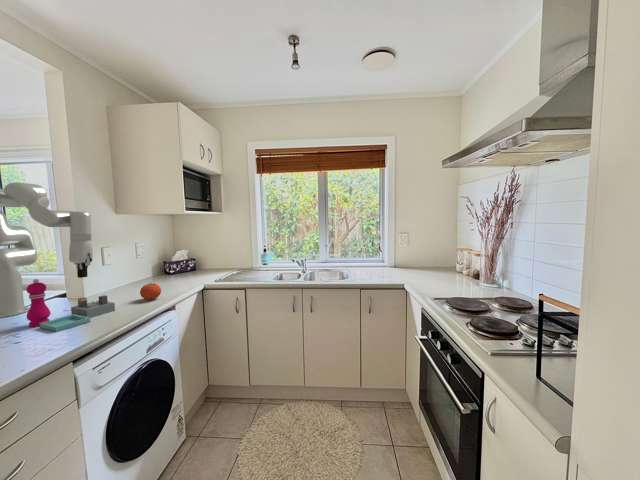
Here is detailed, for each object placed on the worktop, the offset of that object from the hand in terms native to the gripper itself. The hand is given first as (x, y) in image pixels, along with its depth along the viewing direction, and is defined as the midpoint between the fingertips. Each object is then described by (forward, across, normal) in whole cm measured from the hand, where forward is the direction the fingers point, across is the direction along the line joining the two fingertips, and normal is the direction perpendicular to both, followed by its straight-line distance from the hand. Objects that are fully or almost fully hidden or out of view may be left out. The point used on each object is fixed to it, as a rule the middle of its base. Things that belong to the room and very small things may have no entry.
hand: (82, 277), depth 131 cm
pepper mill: (+19, -4, -15) cm, 24 cm away
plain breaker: (+14, +4, +6) cm, 16 cm away
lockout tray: (+18, +7, -11) cm, 22 cm away
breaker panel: (+18, +1, +3) cm, 19 cm away
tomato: (+18, +6, +29) cm, 35 cm away
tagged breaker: (+14, -1, 0) cm, 14 cm away
